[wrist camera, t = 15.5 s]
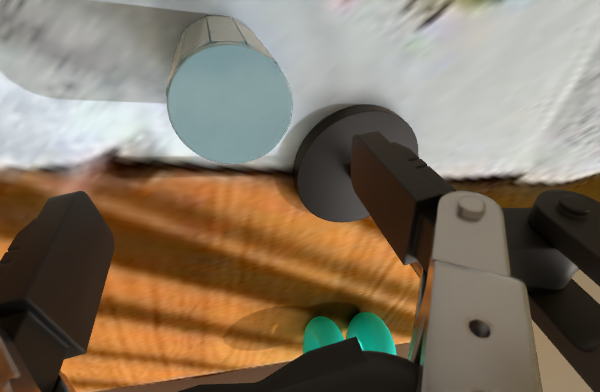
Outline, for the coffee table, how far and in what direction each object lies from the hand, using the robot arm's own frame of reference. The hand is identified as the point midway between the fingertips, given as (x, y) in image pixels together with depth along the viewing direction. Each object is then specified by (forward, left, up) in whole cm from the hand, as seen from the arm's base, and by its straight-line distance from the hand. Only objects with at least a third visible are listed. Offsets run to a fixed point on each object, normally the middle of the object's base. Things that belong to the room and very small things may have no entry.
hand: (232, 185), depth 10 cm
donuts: (+30, -24, -16) cm, 42 cm away
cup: (+1, 0, -16) cm, 16 cm away
